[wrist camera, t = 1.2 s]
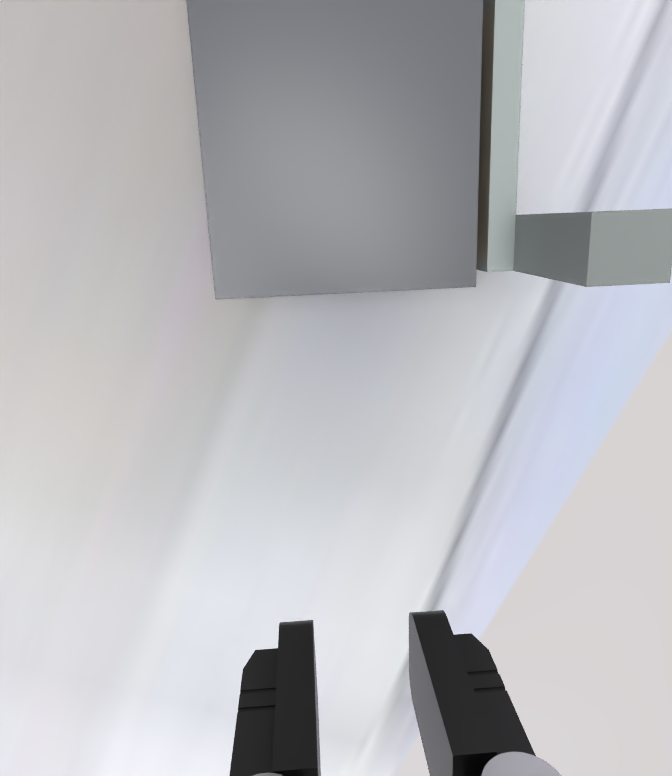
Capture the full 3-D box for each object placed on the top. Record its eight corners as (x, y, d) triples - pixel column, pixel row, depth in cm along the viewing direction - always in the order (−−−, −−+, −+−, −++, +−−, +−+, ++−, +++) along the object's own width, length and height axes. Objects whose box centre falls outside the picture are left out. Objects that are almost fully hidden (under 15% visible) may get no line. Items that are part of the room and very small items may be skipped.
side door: (495, 254, 31) (669, 282, 16) (432, 257, 31) (551, 288, 16) (502, 43, 28) (719, -148, 14) (433, 45, 28) (577, -147, 14)
